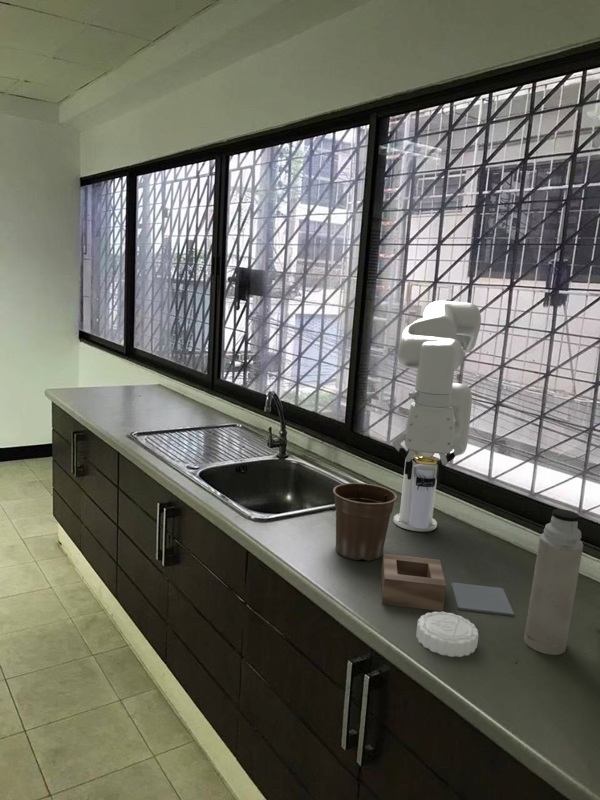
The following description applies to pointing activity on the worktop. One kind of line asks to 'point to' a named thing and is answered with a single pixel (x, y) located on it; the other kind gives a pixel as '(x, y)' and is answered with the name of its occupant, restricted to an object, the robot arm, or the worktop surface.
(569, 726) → the worktop surface
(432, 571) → the frame
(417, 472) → the perfume bottle
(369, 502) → the plant pot
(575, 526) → the thermos bottle
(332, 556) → the worktop surface
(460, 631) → the mooncake
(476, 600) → the mat
